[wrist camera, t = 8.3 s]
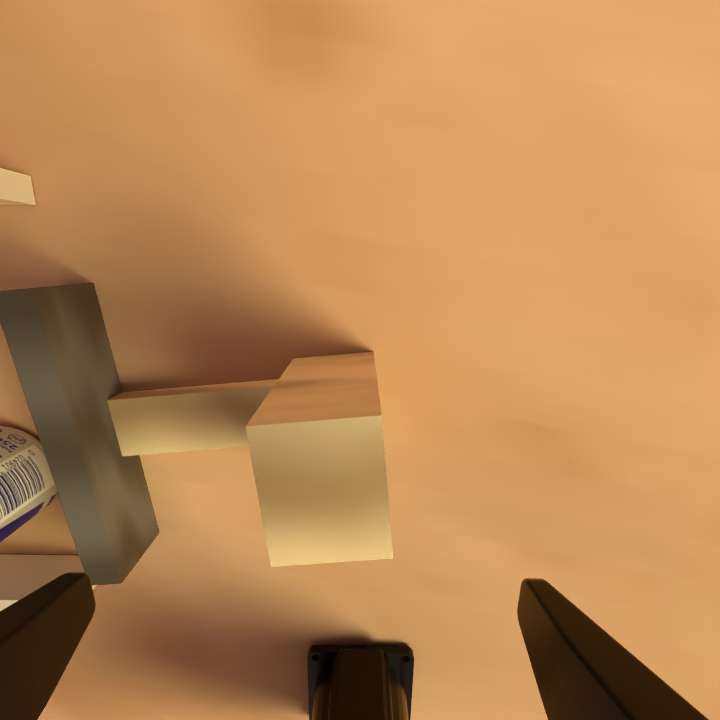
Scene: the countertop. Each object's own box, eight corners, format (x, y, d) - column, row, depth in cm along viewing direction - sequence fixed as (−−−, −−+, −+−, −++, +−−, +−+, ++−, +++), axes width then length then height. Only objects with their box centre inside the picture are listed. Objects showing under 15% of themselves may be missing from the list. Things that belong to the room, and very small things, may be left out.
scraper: (386, 515, 21) (401, 663, 13) (132, 534, 21) (2, 689, 14) (365, 258, 17) (368, 254, 10) (60, 286, 18) (-170, 305, 10)
